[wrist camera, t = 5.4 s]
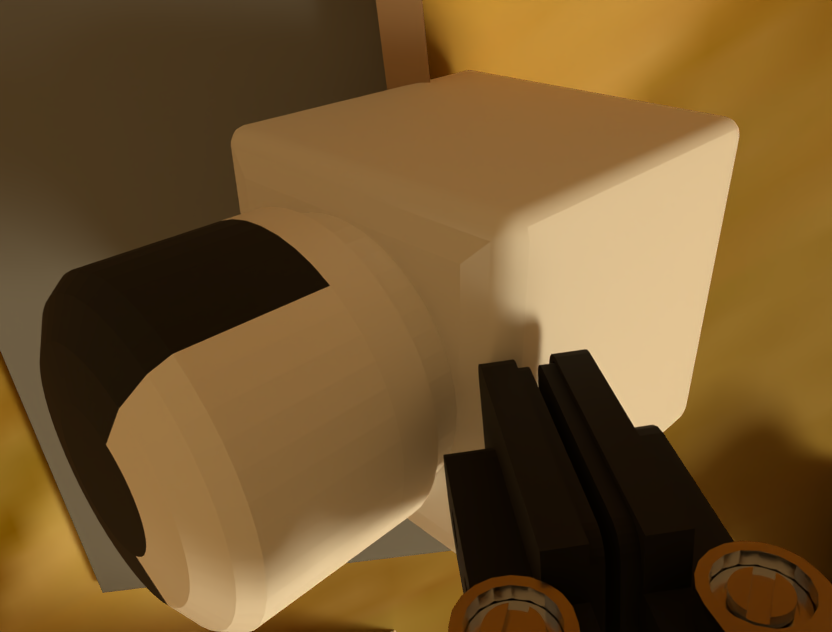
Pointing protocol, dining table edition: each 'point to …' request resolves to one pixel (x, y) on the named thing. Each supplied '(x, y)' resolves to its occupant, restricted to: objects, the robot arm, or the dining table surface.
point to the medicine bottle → (374, 322)
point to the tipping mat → (158, 152)
